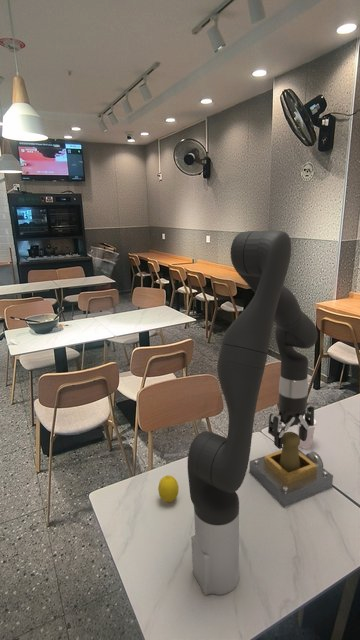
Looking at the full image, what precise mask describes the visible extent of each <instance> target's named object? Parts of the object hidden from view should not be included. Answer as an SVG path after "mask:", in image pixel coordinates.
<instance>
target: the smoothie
mask: <svg viewBox="0 0 360 640" xmlns="http://www.w3.org/2000/svg"><path fill="white" fill-rule="evenodd" d="M303 418H304V419H305V415H304V416H303ZM309 420H310V418H309ZM300 426H301V425H300V424H299V423H298V425H297V435H298V436H299V427H300ZM316 426H317V420H316V419H315V418H314V425H313V426H309V428H308V429H307V438H306V441H302V440H301V439H300V445H299V446H298V447H299V448H301V449H302V450H303V449H304V450H309V449H311V448H312V443H313V438H314V434H315V430H316V429H315V428H316Z"/></svg>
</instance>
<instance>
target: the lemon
mask: <svg viewBox="0 0 360 640" xmlns="http://www.w3.org/2000/svg"><path fill="white" fill-rule="evenodd" d="M178 483H179V482H178V480H177V479H176V478H175V477H174V476H172V475H168V474H167V475H164V476H163V477H162V478H161V479H160V481H159V483H158V487H157V490H158V495H159V497H160V499H161V500H162V501H164V502H166V503H171V502H173V501H175V500H176V498H177V497H178V495H179V484H178Z"/></svg>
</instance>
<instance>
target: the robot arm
mask: <svg viewBox="0 0 360 640" xmlns="http://www.w3.org/2000/svg"><path fill="white" fill-rule="evenodd" d="M291 255H292V241H291V238H290V235H289V234H288V233H287V232H285V231H283V230H247V231H242V232H239V233H238V234H237V235H236V236H235V237H234V239H233V240H232V243H231V245H230V260H231V265H232V267H233V268H234V270H235V272H237V274H238V275H239V277H240V278H241V279H242V280H243V281H244V282H245V283H246V284H247V285H248V287H249V288H250V289H251V290H252V292H254V296H253V297H252V299H251V300H250V302H249V303H248V304H247V306H246V307H245V309H243V310H242V311H241V312H240V313H239V315H238V316H237V317H236V318H235V319H234V320H233V322H232V323H231V324H230V325H229V326H228V327H227V329H226V331H225V332H224V335H223V337H222V341H221V344H220V350H219V355H218V359H217V366H216V371H217V376H218V377H217V378H218V381H219V384H220V387H221V391H222V394H223V397H224V400H225V404H226V409H227V414H228V427H227V435H226V437H225V436H222V435H220V434H218V433H215V432H212V431H207V430H205V431H201V432H200V433H198V434H197V435H196V436H195V437H194V438H193V439H192V441H191V443H190V447H189V450H188V453H187V476H188V477H187V478H188V486H189V487H188V488H189V497H190V500H191V503H192V505H193V511H194V516H193V518H194V534H193V535H192V536H191V538H190V540H191V559H192V560H191V561H192V562H191V564H192V574H193V575H194V577H195V579H196V581H197V582H198V585H199V586H200V588H201V591H202V592H203V594H204V596H207V595H210V594H211V595H217V596H218V595H219V596H222V595H225V594H229V593H230V592H232V591H233V590H234V589H235V588H236V587H237V585H238V583H239V579H240V500H239V495H238V493H237V491H238V490H239V489H240V488H241V487H242V484H243V482H244V480H245V477H246V474H247V472H248V467H249V463H250V456H251V455H250V454H251V447H252V438H253V431H254V422H255V415H256V409H257V403H258V400H259V399H258V398H259V394H260V389H261V386H262V385H261V384H262V381H263V376H264V372H265V367H266V364H267V359H268V353H269V347H270V342H271V338H272V337H271V335H272V330H273V326H274V324H275V325H276V327H275V330H274V331H275V332H274V334H275V335H274V337H275V341H276V346H277V349H278V354H279V359H280V378H279V380H278V381H279V382H278V406H279V412H278V414H274V413H270V414H269V417H268V418H269V419H268V429H267V433H268V434H269V435H271V436H272V437H273V444H274V445H275V447H276V448H277V449H279V450H282V447H283V444H282V440H283V437H282V436H283V434H284V433H285V432H288V430H289V429H290V428H291V427H294V426H298V423H299V424H300V425H301V426H300V427H299V437H300V439H301V440H302V441H306V438H307V429H308V428H309V426H313V425H314V419H315V407H313V406H312V405H311V404H309V403H308V391H309V383H308V380H309V379H308V375H309V373H308V372H309V359H308V357H307V356H306V355H304V354H302V353H300V352H298V351H296V350H295V348H299V349H310V348H312V347H314V346H315V344H316V343H317V340H318V334H319V333H318V330H317V326H316V325H315V323H314V322H313V320H312V319H311V318H310V317H309V316H308V315H307V314H306V313H305V312H304V311H302V309H301V307H300V303H299V302H298V299H297V297H296V296H295V293H293V292H292V291H291V290H290V289H289V288H288V287H287V286H285V285H284V284H285V281H286V278H287V277H286V276H287V274H288V270H289V266H290V261H291ZM303 416H305V419H304V418H303ZM309 418H310V420H309Z"/></svg>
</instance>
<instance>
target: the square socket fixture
mask: <svg viewBox="0 0 360 640" xmlns="http://www.w3.org/2000/svg"><path fill="white" fill-rule="evenodd" d="M298 451H299V461H300V469H297V470H295V471H292V472H289V473H288V472H287V471H286V470H285V469H283V468H282V467H281V466H280V465H279V463H280V458H281V453H282V449H279V450H278V451H276V452H272V453H269V454H267V455H264V456H261V457H257V458H255V459H252V460H249V463H248V467H249V470H248V471H249V472H248V473H249V474H250V475H251V476H252V477H253V478H254V479H255V480H256V482H258V483H259V484H260V485H261V486H262V487H263V488H264V489H265V490H266V491H267V492H268V493H269V494H270V495H271V496H272V497H273V498H274V499H275V500H276V501H277V502H278V503H279V504H280V505H281V506H282V507H283V509H284V508H285V509H286V508H287V507H290V506H292V505H294V504H296V503H298V502H301V501H303V500H305V499H308V498H311V497H313V496H316V495H318V494H321V493H323V492H324V491H325V492H326V491H327V490H330V489H333V481H334V475H333V474H332V473H330V471H328V470H326V469H325V468H324V462H323V460H322V458H321V455H320V454H319V453H317V452H315V451H311V452H309V453H306V454H305V453H304V452H302V451H301V450H300V449H299V448H298Z"/></svg>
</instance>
